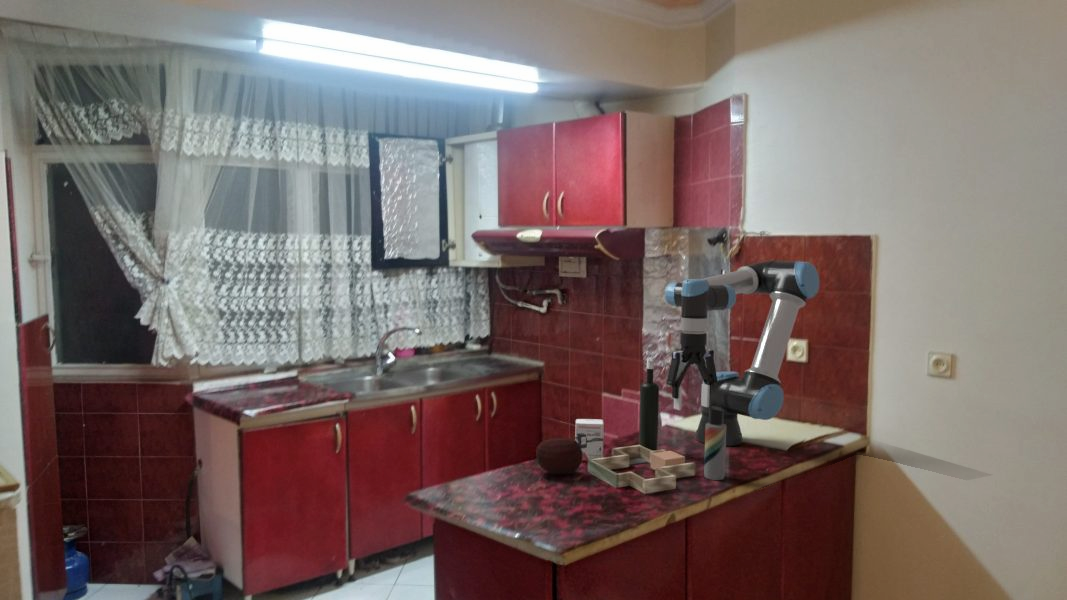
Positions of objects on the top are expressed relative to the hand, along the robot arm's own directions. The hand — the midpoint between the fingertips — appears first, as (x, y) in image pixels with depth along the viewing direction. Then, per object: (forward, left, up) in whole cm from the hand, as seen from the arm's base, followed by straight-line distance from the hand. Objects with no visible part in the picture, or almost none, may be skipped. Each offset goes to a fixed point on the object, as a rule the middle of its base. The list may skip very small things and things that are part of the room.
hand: (691, 407), depth 211 cm
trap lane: (+17, 0, -18) cm, 24 cm away
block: (+8, 0, -18) cm, 19 cm away
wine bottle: (+3, -17, -18) cm, 25 cm away
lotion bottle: (0, +11, -18) cm, 21 cm away
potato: (+39, -9, -18) cm, 44 cm away
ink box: (+24, -18, -18) cm, 35 cm away
